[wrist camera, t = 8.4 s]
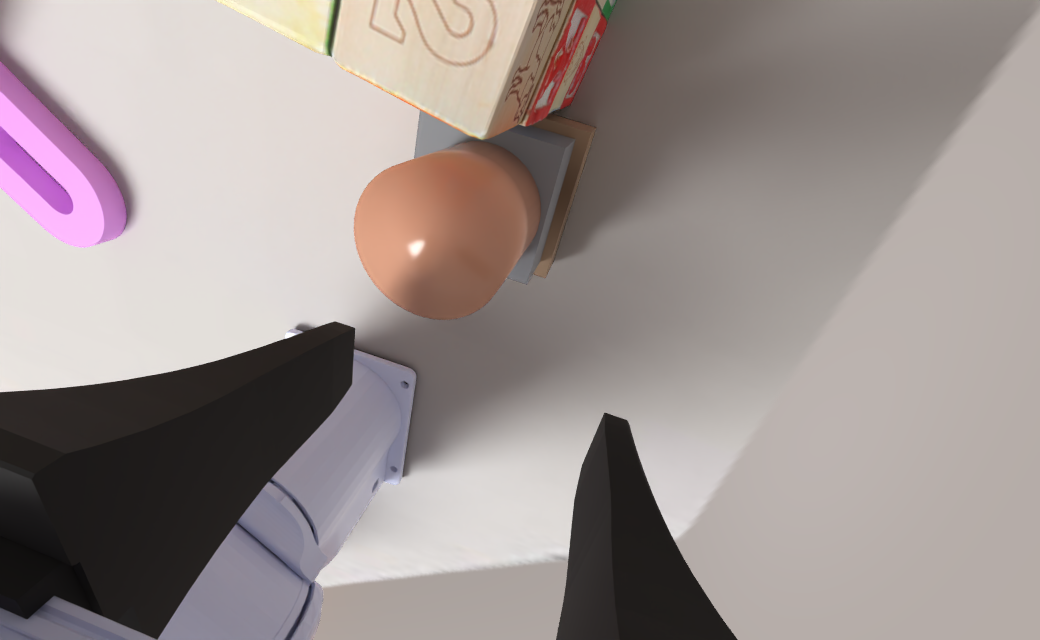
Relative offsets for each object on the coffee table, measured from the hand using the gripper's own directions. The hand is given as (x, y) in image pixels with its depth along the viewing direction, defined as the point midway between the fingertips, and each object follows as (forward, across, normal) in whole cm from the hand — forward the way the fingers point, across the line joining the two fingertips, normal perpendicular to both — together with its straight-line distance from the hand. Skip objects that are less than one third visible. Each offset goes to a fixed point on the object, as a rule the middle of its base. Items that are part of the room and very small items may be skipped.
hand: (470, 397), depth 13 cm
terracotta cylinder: (+6, +2, -3) cm, 7 cm away
